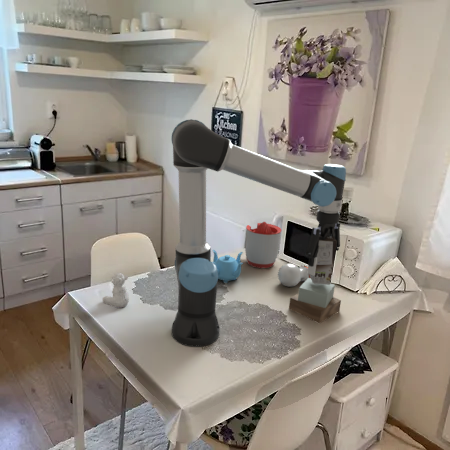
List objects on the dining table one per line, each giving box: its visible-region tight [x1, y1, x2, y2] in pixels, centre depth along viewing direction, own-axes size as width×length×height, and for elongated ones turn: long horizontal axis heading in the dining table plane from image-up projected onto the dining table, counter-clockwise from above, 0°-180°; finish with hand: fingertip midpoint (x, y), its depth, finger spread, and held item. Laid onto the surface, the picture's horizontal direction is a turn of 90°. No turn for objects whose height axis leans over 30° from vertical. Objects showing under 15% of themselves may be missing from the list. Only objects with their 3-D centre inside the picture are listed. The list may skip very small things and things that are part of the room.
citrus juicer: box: [244, 221, 282, 269], centre depth 191 cm, size 16×17×20 cm
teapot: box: [212, 249, 244, 284], centre depth 174 cm, size 13×13×10 cm
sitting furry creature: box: [102, 272, 130, 309], centre depth 149 cm, size 10×9×12 cm
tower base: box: [288, 292, 342, 324], centre depth 154 cm, size 13×13×5 cm
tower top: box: [298, 278, 336, 308], centre depth 153 cm, size 10×10×5 cm
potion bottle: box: [277, 262, 310, 288], centre depth 174 cm, size 9×10×15 cm
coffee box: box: [309, 235, 337, 285], centre depth 150 cm, size 9×6×16 cm
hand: (320, 270), depth 152 cm, fingers closed on coffee box, 10 cm apart
